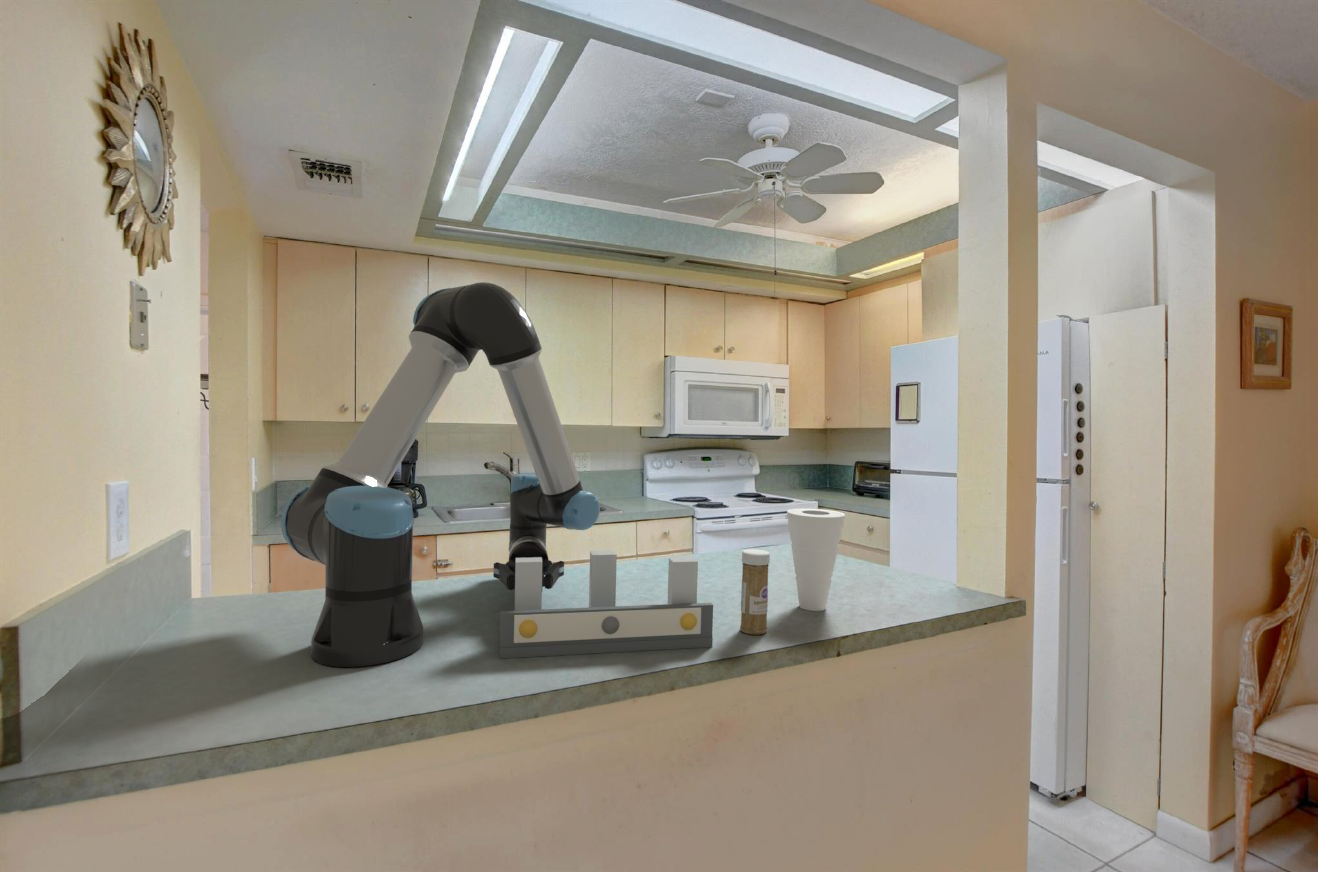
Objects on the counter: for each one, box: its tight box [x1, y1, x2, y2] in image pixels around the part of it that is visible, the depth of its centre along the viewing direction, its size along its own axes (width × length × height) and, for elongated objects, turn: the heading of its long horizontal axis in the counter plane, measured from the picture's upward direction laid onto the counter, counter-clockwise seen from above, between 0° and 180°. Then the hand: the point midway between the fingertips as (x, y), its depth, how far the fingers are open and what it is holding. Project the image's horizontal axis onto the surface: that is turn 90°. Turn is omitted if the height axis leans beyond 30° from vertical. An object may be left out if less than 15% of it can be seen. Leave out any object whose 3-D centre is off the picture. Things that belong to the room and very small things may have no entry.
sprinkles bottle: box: [739, 548, 771, 636], centre depth 105 cm, size 5×5×14 cm
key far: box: [667, 556, 699, 604], centre depth 100 cm, size 4×3×11 cm
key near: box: [514, 557, 543, 610], centre depth 98 cm, size 4×3×11 cm
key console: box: [498, 602, 714, 660], centre depth 100 cm, size 32×13×6 cm, turn 102°
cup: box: [786, 507, 846, 612], centre depth 119 cm, size 11×11×18 cm
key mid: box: [588, 550, 618, 608], centre depth 104 cm, size 4×3×11 cm
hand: (531, 594), depth 99 cm, fingers closed
